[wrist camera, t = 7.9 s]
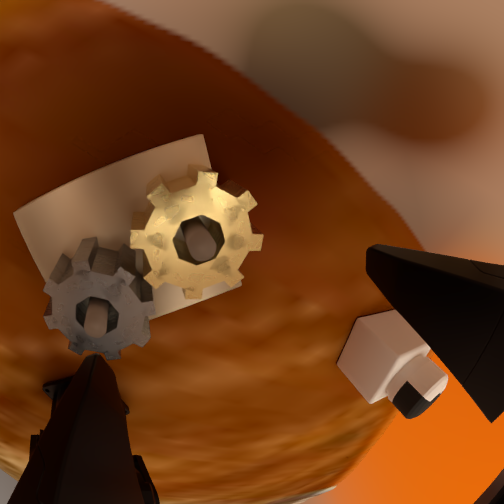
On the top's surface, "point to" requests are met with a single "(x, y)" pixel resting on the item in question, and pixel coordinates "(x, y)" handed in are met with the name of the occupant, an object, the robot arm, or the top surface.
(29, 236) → the birch gear board
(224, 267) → the brass gear
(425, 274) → the robot arm
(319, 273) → the top surface
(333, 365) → the top surface
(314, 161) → the top surface
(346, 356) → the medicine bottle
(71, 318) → the grey gear
